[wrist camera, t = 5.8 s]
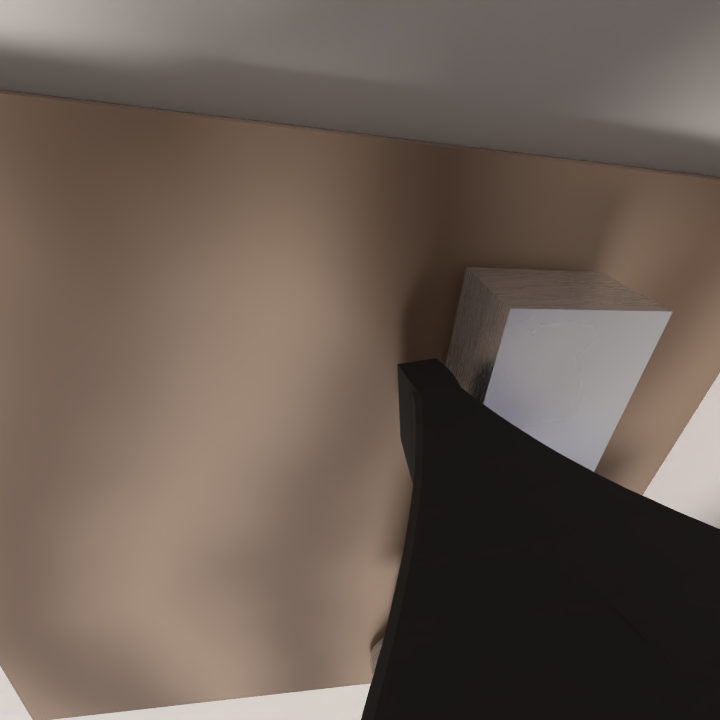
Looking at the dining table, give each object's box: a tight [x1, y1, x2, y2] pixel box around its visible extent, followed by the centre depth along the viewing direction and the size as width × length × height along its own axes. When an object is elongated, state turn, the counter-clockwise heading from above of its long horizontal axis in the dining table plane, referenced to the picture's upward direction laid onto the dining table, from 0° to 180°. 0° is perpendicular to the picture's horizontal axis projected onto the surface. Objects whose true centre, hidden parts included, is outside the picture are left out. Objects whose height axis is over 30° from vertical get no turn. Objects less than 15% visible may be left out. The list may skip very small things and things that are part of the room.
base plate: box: [0, 90, 720, 720], centre depth 13 cm, size 20×20×1 cm
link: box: [370, 267, 672, 678], centre depth 12 cm, size 17×4×2 cm, turn 175°
